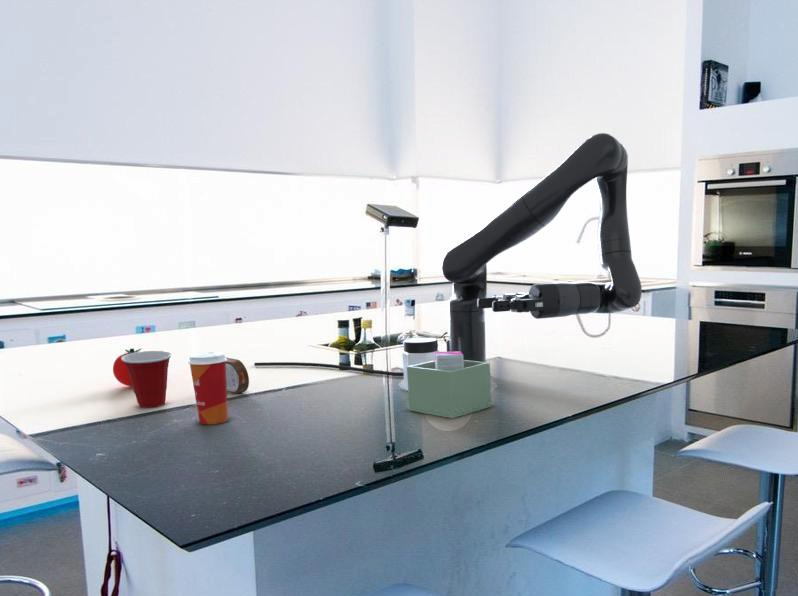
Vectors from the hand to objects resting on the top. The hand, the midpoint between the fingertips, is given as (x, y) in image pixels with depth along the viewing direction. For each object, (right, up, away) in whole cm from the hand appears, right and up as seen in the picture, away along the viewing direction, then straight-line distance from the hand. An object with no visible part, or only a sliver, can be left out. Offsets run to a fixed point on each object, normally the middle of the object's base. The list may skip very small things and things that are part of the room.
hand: (485, 305), depth 159 cm
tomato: (-90, -17, +41) cm, 101 cm away
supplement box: (-7, -22, +1) cm, 23 cm away
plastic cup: (-77, -22, +16) cm, 81 cm away
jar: (-14, -18, +22) cm, 32 cm away
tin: (-62, -19, +29) cm, 71 cm away
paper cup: (-57, -25, -2) cm, 62 cm away
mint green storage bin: (-7, -22, +1) cm, 23 cm away
